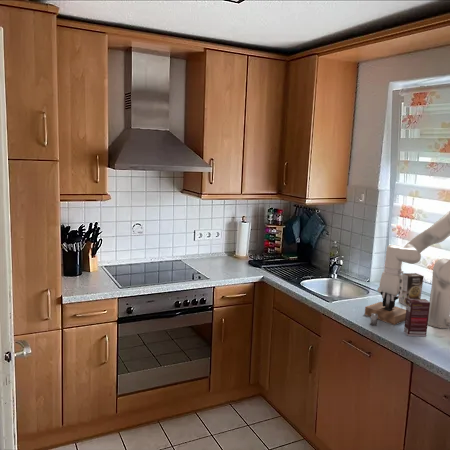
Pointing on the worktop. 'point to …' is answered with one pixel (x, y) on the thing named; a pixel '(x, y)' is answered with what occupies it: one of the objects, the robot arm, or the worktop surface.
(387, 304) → the long pin
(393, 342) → the worktop surface
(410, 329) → the supplement box
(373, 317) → the short pin
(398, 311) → the hole block
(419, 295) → the coffee box
